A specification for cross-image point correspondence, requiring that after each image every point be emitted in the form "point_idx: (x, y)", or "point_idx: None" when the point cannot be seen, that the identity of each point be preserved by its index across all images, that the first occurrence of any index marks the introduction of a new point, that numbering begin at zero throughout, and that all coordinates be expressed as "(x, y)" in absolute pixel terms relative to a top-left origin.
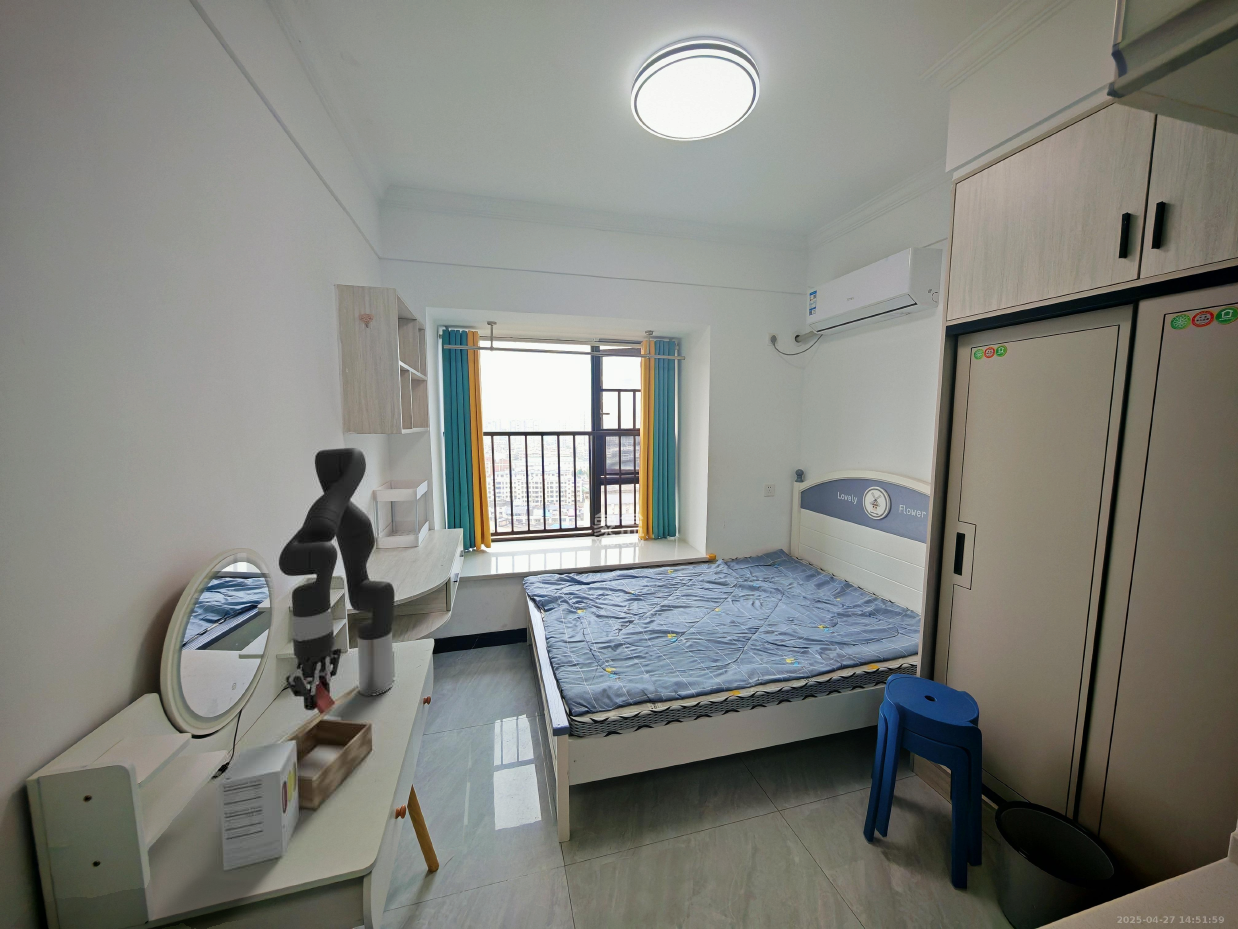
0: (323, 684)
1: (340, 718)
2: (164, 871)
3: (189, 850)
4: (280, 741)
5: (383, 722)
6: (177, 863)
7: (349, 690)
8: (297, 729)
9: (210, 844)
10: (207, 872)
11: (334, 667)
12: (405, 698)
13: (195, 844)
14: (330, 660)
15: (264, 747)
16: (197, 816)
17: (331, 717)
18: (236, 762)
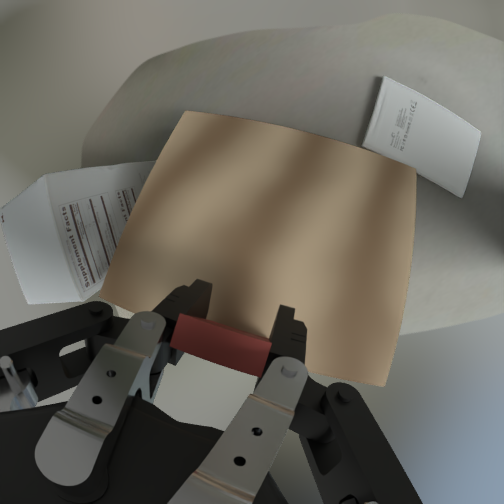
0: (259, 380)
1: (461, 196)
2: (112, 101)
3: (136, 103)
4: (396, 85)
5: (429, 293)
6: (119, 106)
7: (393, 345)
8: (307, 171)
9: (141, 125)
10: (106, 160)
11: (313, 468)
12: (487, 308)
13: (144, 102)
14: (344, 490)
15: (51, 233)
16: (197, 56)
17: (467, 174)
18: (21, 198)
